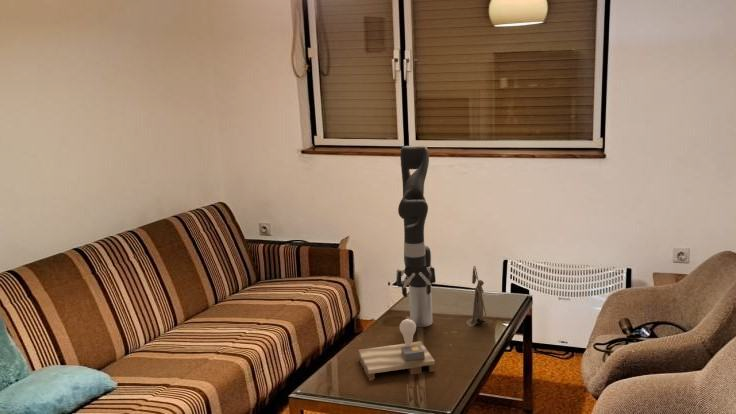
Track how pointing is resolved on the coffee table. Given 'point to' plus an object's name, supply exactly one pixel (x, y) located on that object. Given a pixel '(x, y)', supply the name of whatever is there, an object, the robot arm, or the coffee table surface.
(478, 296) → the wizard figurine
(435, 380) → the coffee table surface
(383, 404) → the coffee table surface
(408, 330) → the lightbulb
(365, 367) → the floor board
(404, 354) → the grey box
